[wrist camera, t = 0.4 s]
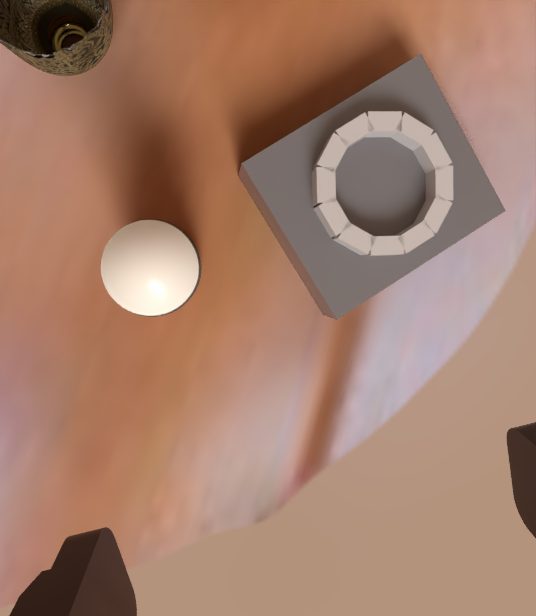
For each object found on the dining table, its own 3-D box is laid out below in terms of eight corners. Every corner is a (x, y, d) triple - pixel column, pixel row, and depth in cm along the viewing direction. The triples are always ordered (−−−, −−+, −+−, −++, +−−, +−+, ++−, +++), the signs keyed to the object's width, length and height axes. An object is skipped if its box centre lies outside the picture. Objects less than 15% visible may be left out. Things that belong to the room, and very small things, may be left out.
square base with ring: (238, 175, 36) (243, 157, 31) (398, 77, 37) (430, 43, 31) (323, 314, 38) (342, 321, 32) (474, 217, 38) (518, 207, 33)
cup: (129, -6, 34) (105, -90, 26) (132, 104, 35) (109, 54, 27) (15, -12, 33) (-45, -101, 26) (20, 100, 34) (-37, 48, 26)
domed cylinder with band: (115, 257, 35) (78, 251, 26) (177, 219, 36) (165, 199, 26) (155, 318, 36) (135, 336, 26) (216, 280, 36) (219, 283, 27)
